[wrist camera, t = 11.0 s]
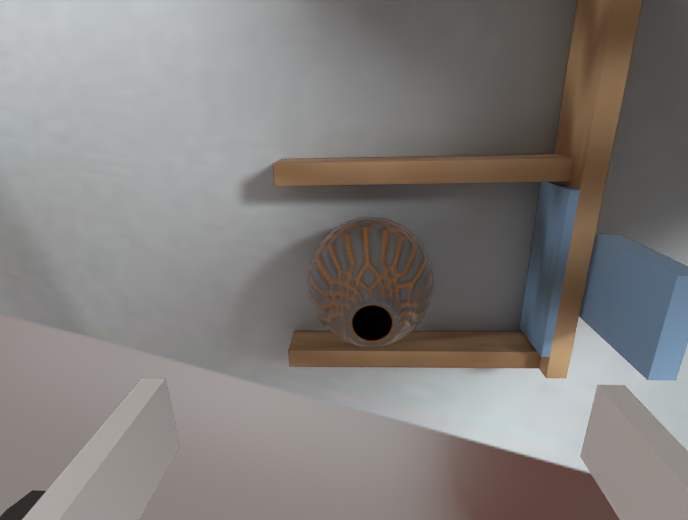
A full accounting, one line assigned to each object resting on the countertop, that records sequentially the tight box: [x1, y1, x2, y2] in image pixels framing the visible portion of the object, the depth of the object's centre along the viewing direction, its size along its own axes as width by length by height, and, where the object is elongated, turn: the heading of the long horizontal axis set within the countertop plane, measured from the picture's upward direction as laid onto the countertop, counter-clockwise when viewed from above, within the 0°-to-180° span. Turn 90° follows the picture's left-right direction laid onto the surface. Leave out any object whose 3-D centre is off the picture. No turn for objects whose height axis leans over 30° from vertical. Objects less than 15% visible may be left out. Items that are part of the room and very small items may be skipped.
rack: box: [273, 0, 642, 378], centre depth 22 cm, size 25×17×4 cm
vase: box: [308, 217, 433, 347], centre depth 22 cm, size 7×7×9 cm
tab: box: [579, 234, 688, 380], centre depth 20 cm, size 5×1×6 cm, turn 1°
